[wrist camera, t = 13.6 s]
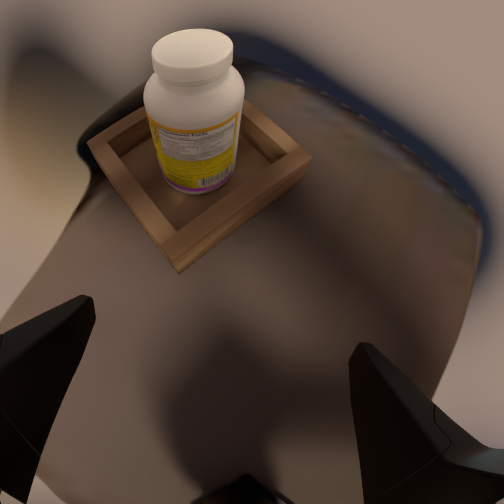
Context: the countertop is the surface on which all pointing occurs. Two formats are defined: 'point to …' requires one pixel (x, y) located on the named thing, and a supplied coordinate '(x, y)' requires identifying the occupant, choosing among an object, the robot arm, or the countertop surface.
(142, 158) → the box
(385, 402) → the robot arm
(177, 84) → the supplement bottle
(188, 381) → the countertop surface
